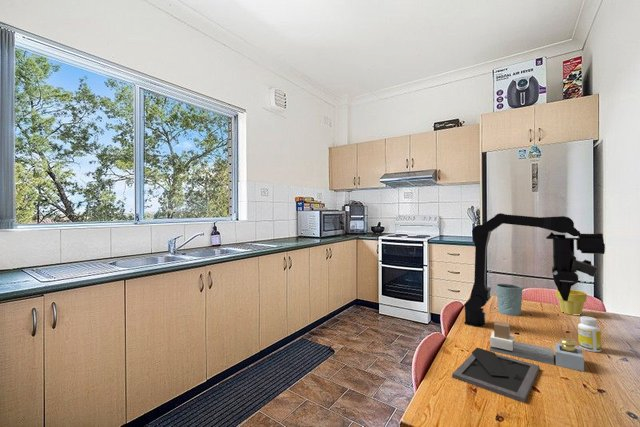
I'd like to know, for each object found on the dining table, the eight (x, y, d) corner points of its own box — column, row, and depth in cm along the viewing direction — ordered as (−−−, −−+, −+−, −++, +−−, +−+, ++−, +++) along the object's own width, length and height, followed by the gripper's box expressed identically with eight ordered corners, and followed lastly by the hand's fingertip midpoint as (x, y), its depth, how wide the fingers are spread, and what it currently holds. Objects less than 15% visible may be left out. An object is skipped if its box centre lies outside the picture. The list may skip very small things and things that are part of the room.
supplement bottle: (595, 346, 97) (594, 316, 97) (605, 353, 92) (604, 321, 92) (575, 344, 99) (574, 314, 99) (583, 351, 94) (582, 320, 94)
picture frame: (477, 353, 94) (452, 379, 78) (476, 347, 94) (452, 372, 79) (539, 371, 83) (524, 405, 67) (539, 364, 83) (524, 396, 67)
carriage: (490, 346, 95) (489, 324, 95) (493, 340, 100) (492, 319, 101) (512, 351, 92) (512, 328, 92) (514, 344, 97) (513, 322, 97)
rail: (490, 350, 95) (489, 342, 95) (493, 342, 101) (493, 334, 101) (553, 364, 85) (553, 355, 85) (553, 354, 91) (552, 346, 91)
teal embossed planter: (495, 313, 132) (495, 286, 132) (497, 307, 140) (496, 282, 140) (523, 317, 126) (522, 289, 126) (523, 311, 134) (522, 285, 134)
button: (560, 354, 86) (560, 341, 86) (560, 349, 89) (560, 337, 89) (577, 357, 84) (576, 344, 84) (576, 353, 86) (575, 340, 87)
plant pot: (592, 318, 124) (592, 294, 125) (563, 316, 127) (562, 293, 127) (579, 311, 134) (578, 289, 134) (552, 309, 137) (551, 288, 137)
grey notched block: (556, 365, 85) (555, 351, 85) (555, 355, 91) (554, 342, 91) (584, 371, 81) (583, 357, 81) (581, 360, 87) (580, 347, 88)
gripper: (599, 256, 90) (600, 308, 90) (591, 251, 105) (592, 295, 105) (552, 254, 97) (554, 302, 97) (551, 249, 112) (552, 291, 111)
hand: (564, 297), depth 102 cm, fingers open, 9 cm apart
